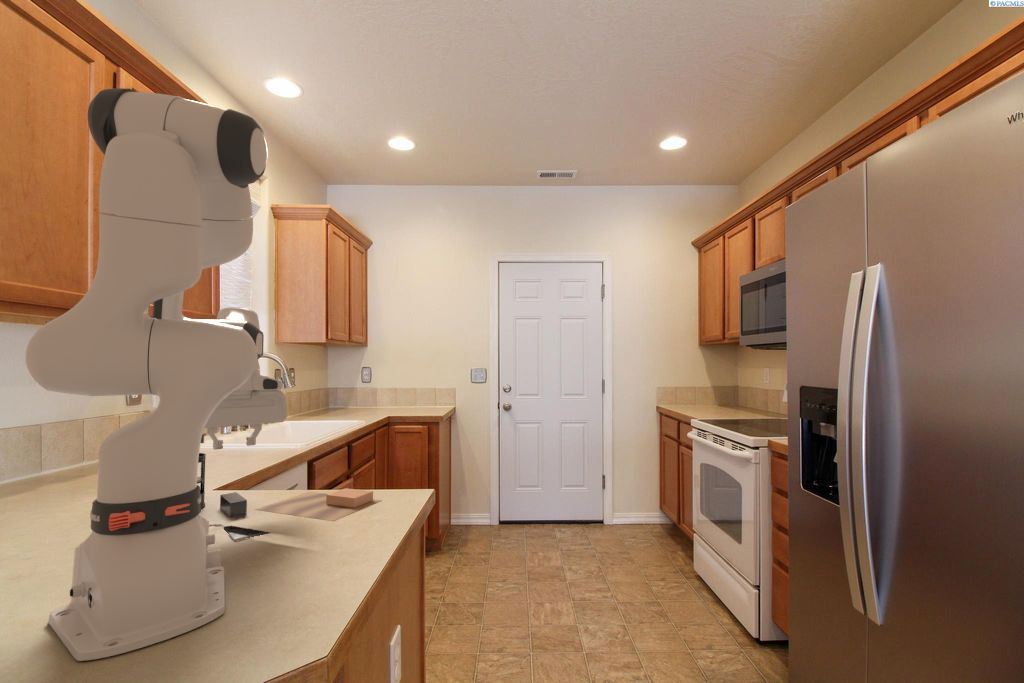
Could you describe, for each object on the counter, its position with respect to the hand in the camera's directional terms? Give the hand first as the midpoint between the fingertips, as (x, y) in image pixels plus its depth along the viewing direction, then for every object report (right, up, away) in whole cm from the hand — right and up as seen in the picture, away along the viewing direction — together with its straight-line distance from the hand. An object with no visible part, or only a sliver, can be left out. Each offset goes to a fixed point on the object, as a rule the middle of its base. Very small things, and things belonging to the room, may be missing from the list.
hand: (234, 447), depth 97 cm
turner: (+4, -15, -5) cm, 16 cm away
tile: (+20, -13, +6) cm, 24 cm away
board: (+17, -15, +3) cm, 23 cm away
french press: (-17, -16, +6) cm, 24 cm away
